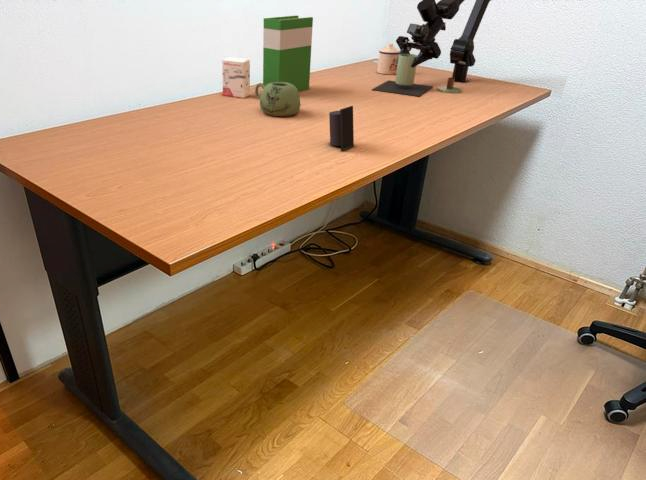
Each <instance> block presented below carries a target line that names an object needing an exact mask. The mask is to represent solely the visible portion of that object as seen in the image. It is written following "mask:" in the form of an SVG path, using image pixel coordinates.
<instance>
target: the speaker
mask: <svg viewBox="0 0 646 480" xmlns="http://www.w3.org/2000/svg"><path fill="white" fill-rule="evenodd" d="M328 115H329V116H328V117H329V121H328V122H329V144H330V146H333V147H340V151H341V152H344V151H346V150H349V149H351V148H354V146H355V139H354V137H355V136H354V134H355V133H354V105H349V106H347V107H343V108H341V109H339V110H334V111H330V112H329V113H328Z"/></svg>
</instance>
